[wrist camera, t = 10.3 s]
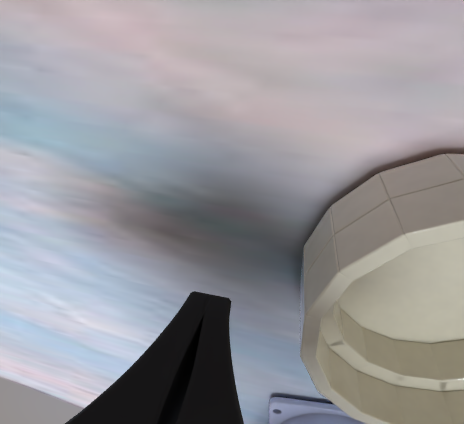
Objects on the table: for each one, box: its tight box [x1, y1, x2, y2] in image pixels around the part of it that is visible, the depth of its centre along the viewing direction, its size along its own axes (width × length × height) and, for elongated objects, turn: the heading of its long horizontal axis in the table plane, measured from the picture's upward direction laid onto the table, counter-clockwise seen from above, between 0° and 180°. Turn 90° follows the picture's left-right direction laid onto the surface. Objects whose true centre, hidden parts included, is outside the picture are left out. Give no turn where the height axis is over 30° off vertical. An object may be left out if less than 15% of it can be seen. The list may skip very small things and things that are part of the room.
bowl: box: [300, 154, 464, 424], centre depth 14 cm, size 11×11×4 cm
